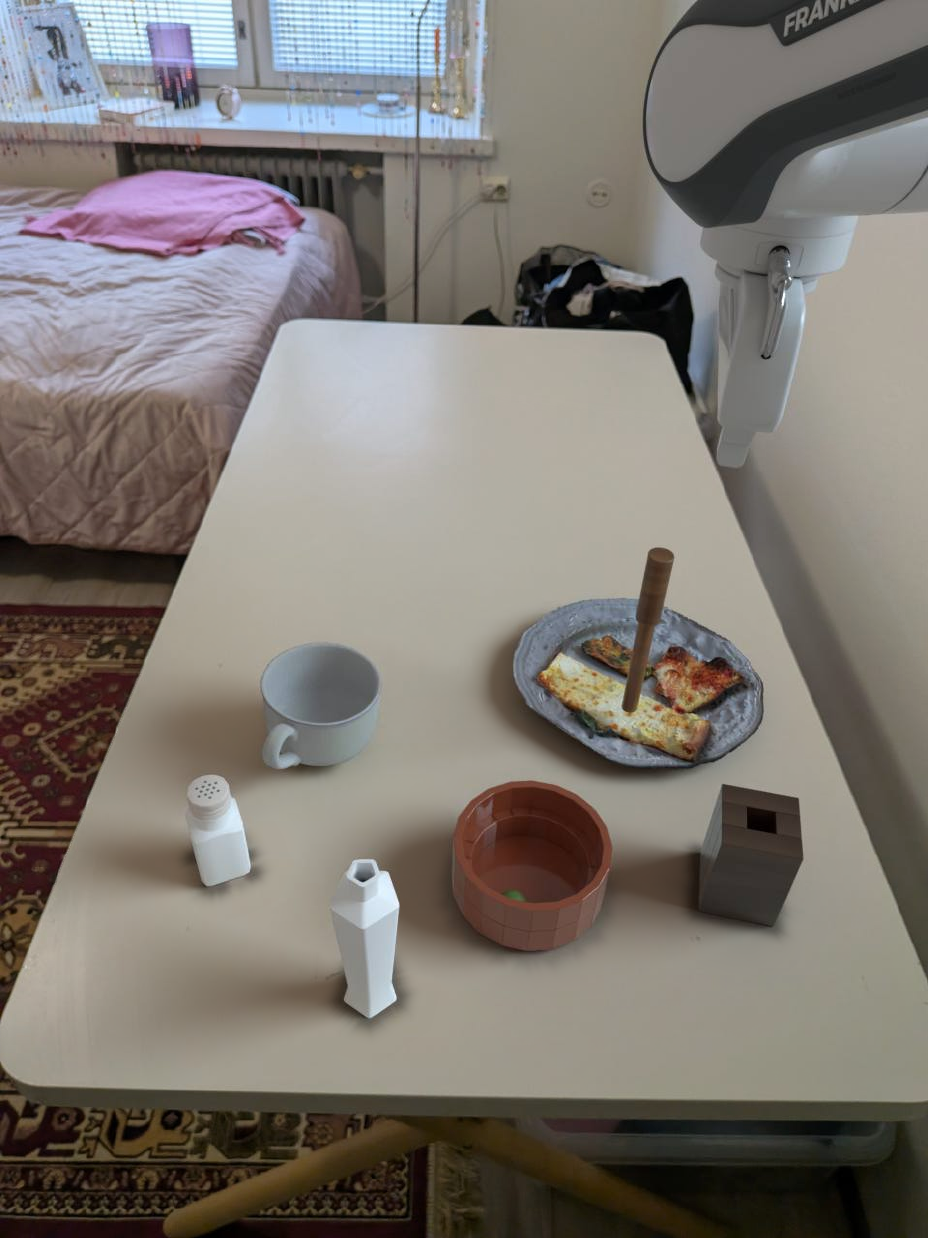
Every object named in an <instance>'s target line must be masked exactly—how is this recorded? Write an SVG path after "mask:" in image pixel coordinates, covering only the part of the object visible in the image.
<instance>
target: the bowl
mask: <svg viewBox="0 0 928 1238" xmlns="http://www.w3.org/2000/svg"><path fill="white" fill-rule="evenodd" d="M613 849H614V848H613V843H612V840H611V837H610V833H609V828H608V826H607V824H606V823H605V822H604V820H603V818H602V817H601V815H600V814H599V813H598V811H597V810H596V808H594V807H593V806H592V805H591V804H590V803H588V802H587V801H586V800H584V799H583V798H582V797H581V796H580V795H578V794H577V793H575V792H572V791H570V790H568V789H567V788H564V787H561V786H560V785H558V784H553V783H547V782H544V781H543V782H542V781H536V780H515V781H513V780H512V781H508V782H505V783H501V784H498V785H495V786H492V787H489V788H487V789H486V790H484V791H482V792H481V793H479V795H477V796H476V797H473V798H472V799H471V800H470V801H469V802H468V804H467V805H466V807H465V808H464V809H463V810H462V812H461V813H460V814H459V816H458V818H457V822H456V825H455V829H454V832H453V837H452V857H451V858H452V859H451V860H452V861H451V884H452V885H451V886H452V896H453V898H454V900H455V902H456V904H457V906H458V909H459V911H460V912H461V915H462V916H463V918H464V919H465V920H466V921H467V922H468V923H469V924H470V926H472V927H473V928H474V929H475V930H476V932H478V933H479V934H480V935H482V936H484V937H486V938H488V939H490V940H491V941H493V942H495V943H497V944H498V945H501V946H503V947H506V948H512V949H516V950H520V951H521V950H522V951H525V952H531V951H546V950H548V951H549V950H553V949H555V948H559V947H562V946H564V945H566V944H569V943H571V942H573V941H576V940H577V939H578V938H579V937H580V936H581V935H582V934H584V933H585V932H586V931H587V930H588V929H589V928H591V926H592V925H593V924H594V922H595V920H596V918H597V916H598V914H599V913H600V911H601V910H602V906H603V902H604V898H605V892H606V889H607V883H608V879H609V876H610V870H611V866H612V865H611V864H612V857H613ZM507 890H515V891H518V892H519V893H521V894H522V895H523V896H524V898H525V900H526V902H524V901H520V900H515V899H510V898H508V897H506V896H504V895H502V893H503V892H505V891H507Z"/></svg>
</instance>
